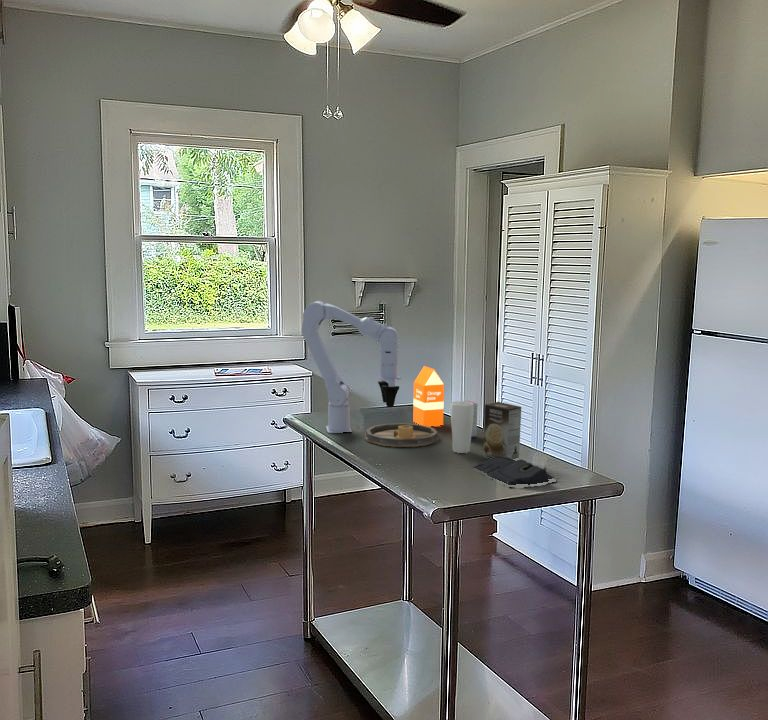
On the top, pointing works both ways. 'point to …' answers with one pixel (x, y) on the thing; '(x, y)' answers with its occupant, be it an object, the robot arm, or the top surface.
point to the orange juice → (428, 398)
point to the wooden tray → (387, 438)
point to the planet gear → (405, 432)
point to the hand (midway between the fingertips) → (388, 404)
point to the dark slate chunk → (513, 471)
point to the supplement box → (474, 421)
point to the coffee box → (502, 430)
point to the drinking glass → (462, 425)
